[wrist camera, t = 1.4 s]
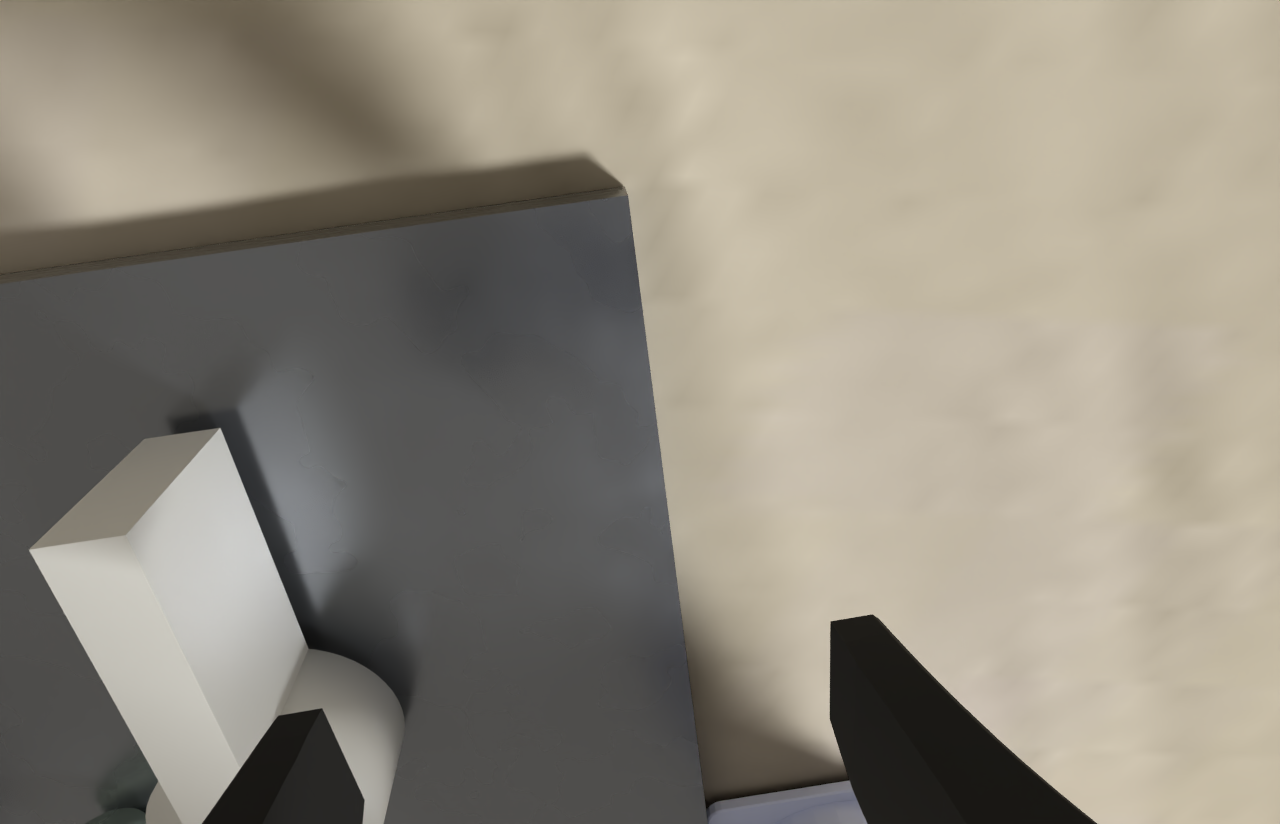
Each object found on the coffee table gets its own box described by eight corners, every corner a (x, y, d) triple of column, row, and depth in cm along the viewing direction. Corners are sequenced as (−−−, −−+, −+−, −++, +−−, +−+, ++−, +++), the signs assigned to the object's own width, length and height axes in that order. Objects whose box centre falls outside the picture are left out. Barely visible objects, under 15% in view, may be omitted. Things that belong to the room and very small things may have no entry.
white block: (425, 775, 22) (396, 922, 18) (241, 804, 21) (176, 959, 18) (300, 416, 17) (227, 520, 13) (63, 450, 17) (-75, 564, 13)
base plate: (705, 818, 26) (725, 931, 22) (80, 917, 25) (8, 1048, 22) (624, 186, 17) (638, 222, 14) (-336, 322, 16) (-559, 393, 13)
